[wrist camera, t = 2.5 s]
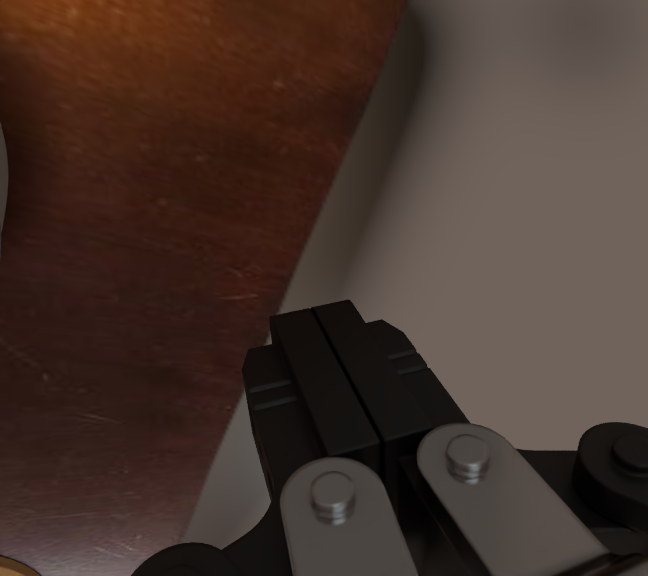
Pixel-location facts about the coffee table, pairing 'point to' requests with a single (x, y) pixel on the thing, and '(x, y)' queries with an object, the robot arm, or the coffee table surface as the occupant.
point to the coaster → (14, 568)
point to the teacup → (3, 180)
